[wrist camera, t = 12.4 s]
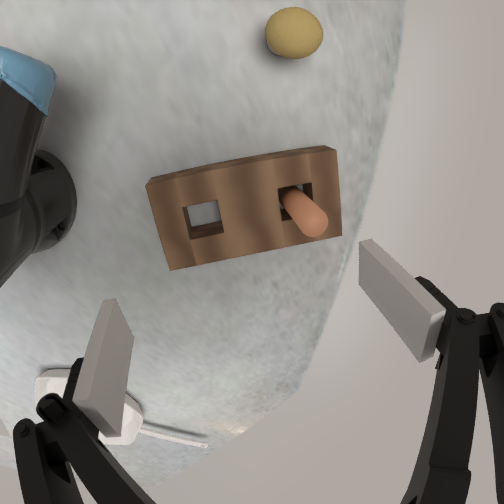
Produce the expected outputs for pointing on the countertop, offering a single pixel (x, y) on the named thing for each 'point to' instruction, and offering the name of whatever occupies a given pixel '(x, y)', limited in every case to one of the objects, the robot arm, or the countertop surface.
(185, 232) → the hole block
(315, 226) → the peg
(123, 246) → the countertop surface
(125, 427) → the pan
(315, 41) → the light bulb
